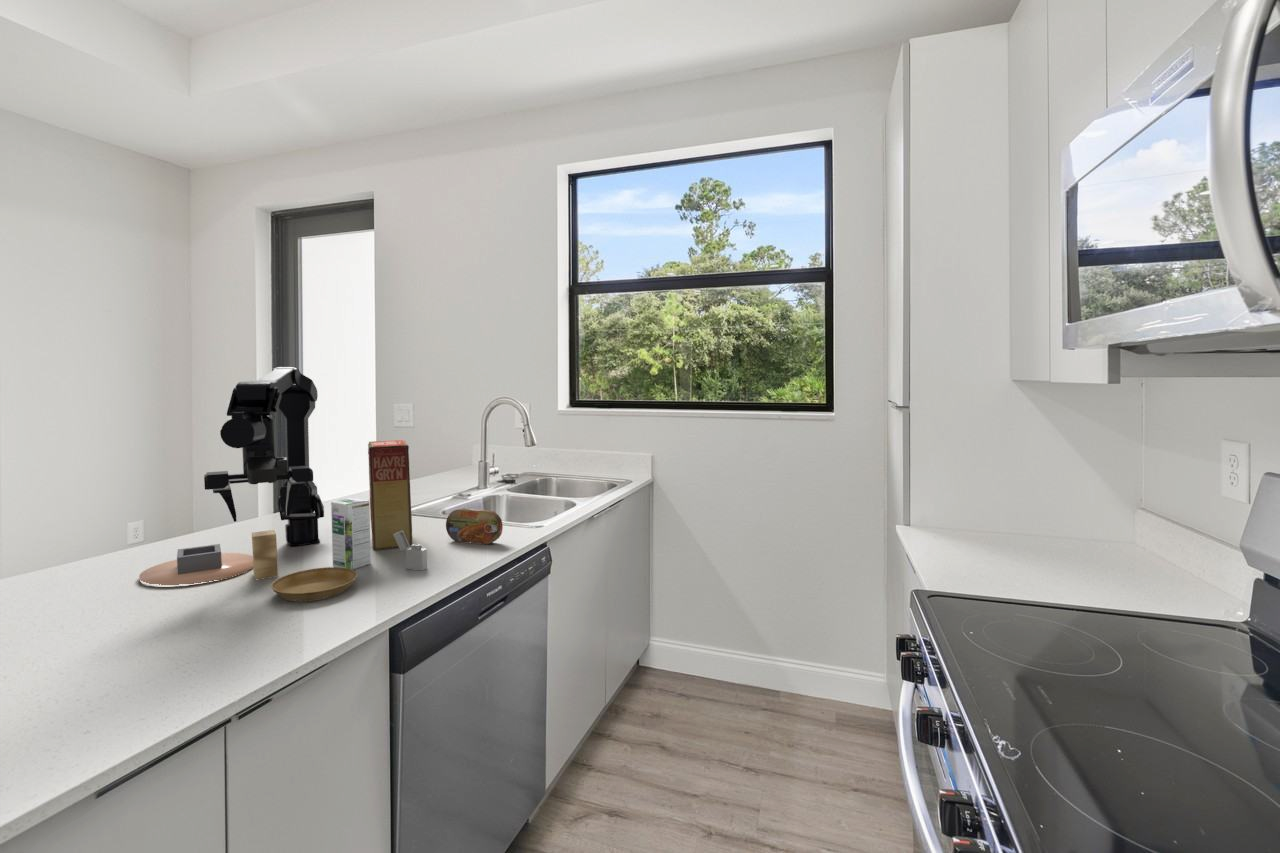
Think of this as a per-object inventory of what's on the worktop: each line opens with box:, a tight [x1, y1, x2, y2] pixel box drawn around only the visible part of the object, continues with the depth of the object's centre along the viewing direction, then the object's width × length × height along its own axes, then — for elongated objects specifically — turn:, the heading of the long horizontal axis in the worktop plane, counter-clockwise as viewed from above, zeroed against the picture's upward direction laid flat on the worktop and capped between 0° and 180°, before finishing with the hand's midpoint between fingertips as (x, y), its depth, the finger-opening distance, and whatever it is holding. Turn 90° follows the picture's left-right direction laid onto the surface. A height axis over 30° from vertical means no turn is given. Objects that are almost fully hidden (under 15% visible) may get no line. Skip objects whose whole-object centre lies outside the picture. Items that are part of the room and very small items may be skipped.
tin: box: [445, 508, 504, 545], centre depth 153 cm, size 15×3×8 cm, turn 73°
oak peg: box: [251, 529, 279, 580], centre depth 126 cm, size 4×4×9 cm
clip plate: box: [138, 543, 253, 585], centre depth 129 cm, size 20×20×4 cm
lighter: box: [393, 530, 428, 571], centre depth 132 cm, size 7×2×8 cm, turn 76°
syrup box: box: [330, 497, 372, 570], centre depth 133 cm, size 6×6×14 cm
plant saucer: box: [270, 566, 358, 602], centre depth 118 cm, size 15×15×3 cm
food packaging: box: [367, 439, 413, 551], centre depth 152 cm, size 13×9×25 cm
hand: (262, 518), depth 126 cm, fingers open, 9 cm apart
